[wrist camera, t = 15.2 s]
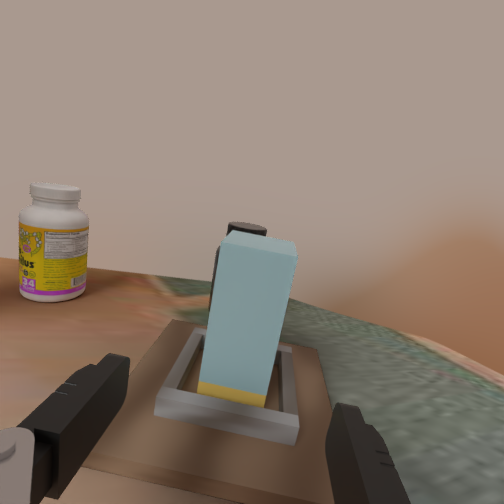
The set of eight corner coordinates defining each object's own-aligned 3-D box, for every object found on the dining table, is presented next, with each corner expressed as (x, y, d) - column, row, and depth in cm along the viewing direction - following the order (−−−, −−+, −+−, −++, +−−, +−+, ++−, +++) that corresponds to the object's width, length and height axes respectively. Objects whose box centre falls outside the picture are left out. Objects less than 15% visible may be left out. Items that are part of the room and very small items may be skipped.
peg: (195, 398, 21) (221, 241, 19) (211, 358, 26) (232, 230, 23) (262, 412, 21) (298, 257, 18) (265, 370, 26) (293, 242, 23)
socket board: (73, 464, 16) (74, 425, 16) (171, 329, 32) (174, 306, 31) (351, 528, 16) (364, 490, 15) (313, 358, 31) (319, 336, 31)
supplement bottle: (17, 284, 35) (16, 178, 32) (79, 280, 40) (83, 185, 37) (21, 308, 31) (20, 186, 28) (91, 300, 35) (96, 193, 32)
